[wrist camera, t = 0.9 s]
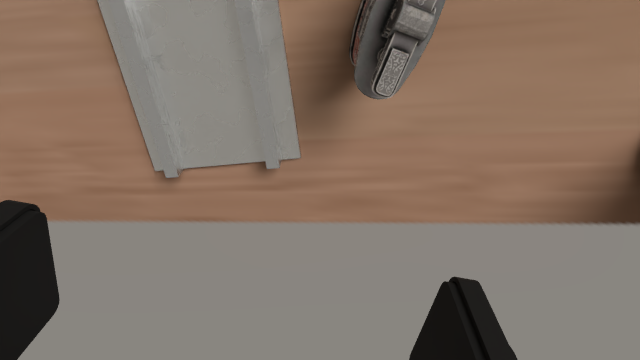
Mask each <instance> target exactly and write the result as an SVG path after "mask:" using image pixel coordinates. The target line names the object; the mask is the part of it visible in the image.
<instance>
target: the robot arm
mask: <svg viewBox="0 0 640 360" xmlns="http://www.w3.org/2000/svg"><path fill="white" fill-rule="evenodd" d="M58 305H59V293H58V287H57V280H56V275H55V268H54V261H53V255H52V249H51V243H50V236H49V230H48V224H47V218H46V215H45V214H44V213H42V212H40V209H39V207H38V206H37V205H34V204H29V203H23V202H18V201H12V200H5V201H3V202H1V203H0V360H17V359H18V358H19V356H20V355H21V354H22V353H23V352H24V350H25V349H26V348H27V347H28V345H29V344H30V343H31V342H32V341H33V339H34V338H35V337H36V336H37V334H38V333H39V332H40V331H41V330H42V328H43V327H44V326H45V325H46V323H47V322H48V321H49V320H50V319H51V317H52V316H53V315H54V313H55V312H56V310H57V308H58ZM409 360H517V358H516V355H515V353H514V352H513V350H512V349H511V347H510V346H509V344H508V342H507V340H506V338H505V336H504V334H503V331H502V329H501V327H500V325H499V323H498V321H497V319H496V317H495V314H494V312H493V310H492V308H491V306H490V304H489V302H488V300H487V298H486V295H485V293H484V291H483V289H482V287H481V285H480V283H479V282H478V281H476V280H470V279H464V278H459V277H452V278H451V279H450V280H449V282H443V283H442V285H441V287H440V289H439V291H438V293H437V296H436V298H435V300H434V303H433V305H432V307H431V309H430V311H429V314H428V316H427V318H426V320H425V323H424V325H423V327H422V330H421V332H420V334H419V336H418V338H417V341H416V343H415V345H414V347H413V350H412V352H411V355H410V359H409Z"/></svg>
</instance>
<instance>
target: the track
mask: <svg viewBox="0 0 640 360" xmlns="http://www.w3.org/2000/svg"><path fill="white" fill-rule="evenodd" d="M97 1H98V4H99V7H100V9H101V12H102V15H103V18H104V21H105V24H106V27H107V30H108V33H109V36H110V39H111V42H112V45H113V48H114V51H115V54H116V57H117V60H118V63H119V66H120V69H121V72H122V74H123V77H124V80H125V83H126V86H127V89H128V92H129V95H130V98H131V101H132V104H133V107H134V110H135V113H136V116H137V119H138V122H139V125H140V128H141V131H142V134H143V137H144V139H145V142H146V145H147V148H148V151H149V154H150V157H151V160H152V163H153V166H154V169H155V171H162V170H164V173H165V176H166V178H172V177H179V176H180V174H181V173H182V172H183V170H184V169H185V168H195V167H206V166H217V165H228V164H239V163H251V162H262V161H265V162H266V167H267V169H273V168H280V165H281V161H282V160H284V159H295V158H301V153H300V146H299V139H298V132H297V126H296V119H295V112H294V105H293V98H292V91H291V84H290V77H289V70H288V64H287V57H286V50H285V43H284V36H283V29H282V22H281V15H280V8H279V2H278V0H97Z"/></svg>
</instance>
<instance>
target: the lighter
mask: <svg viewBox="0 0 640 360" xmlns="http://www.w3.org/2000/svg"><path fill="white" fill-rule="evenodd" d="M444 3H445V0H362V1H361V3H360V7H359V10H358V13H357V17H356V20H355V23H354V27H353V32H352V38H351V43H350V49H349V56H350V59H351V62H352V64H353V65H354V66H355V69H354V79H355V82H356V85H357V87H358V89H359V90H360V91H361V92H362V93H363V94H364V95H366V96H368V97H370V98H373V99H387V98H390V97H392V96H393V95H394V94H395V93H396V92H397V91H398V90H399V89H400V88H401V86H402V85H403V83H404V82H405V80H406V79H407V78H408V76H409V75H410V73H411V72H412V70H413V69H414V68H415V66H416V64H417V62H418V61H419V59H420V57H421V55H422V53H423V51H424V50H425V48H426V46H427V44H428V42H429V40H430V39H431V37H432V34H433V32H434V29H435V26H436V24H437V21H438V19H439V16H440V14H441V11H442V9H443V6H444Z"/></svg>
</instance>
